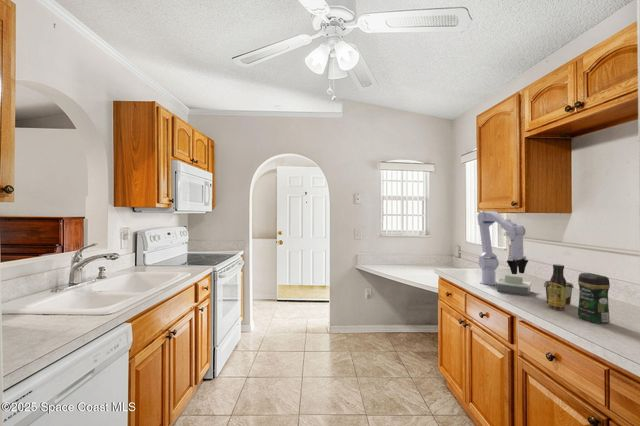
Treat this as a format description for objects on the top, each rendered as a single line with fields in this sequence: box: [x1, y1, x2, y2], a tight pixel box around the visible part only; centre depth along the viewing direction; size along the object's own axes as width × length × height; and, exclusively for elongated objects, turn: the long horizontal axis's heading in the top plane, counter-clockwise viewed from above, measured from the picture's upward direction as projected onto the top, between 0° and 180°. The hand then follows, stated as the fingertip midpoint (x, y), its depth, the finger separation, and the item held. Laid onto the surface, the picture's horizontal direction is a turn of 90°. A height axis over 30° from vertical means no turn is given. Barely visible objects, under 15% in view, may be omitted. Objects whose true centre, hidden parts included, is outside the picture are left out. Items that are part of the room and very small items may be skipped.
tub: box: [496, 284, 531, 296], centre depth 177 cm, size 12×14×4 cm
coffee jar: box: [577, 272, 611, 325], centre depth 129 cm, size 10×8×19 cm
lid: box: [495, 274, 532, 288], centre depth 177 cm, size 13×15×4 cm
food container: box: [543, 280, 575, 306], centre depth 155 cm, size 12×6×10 cm, turn 84°
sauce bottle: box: [547, 263, 567, 311], centre depth 145 cm, size 7×6×20 cm
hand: (518, 273), depth 173 cm, fingers open, 7 cm apart
